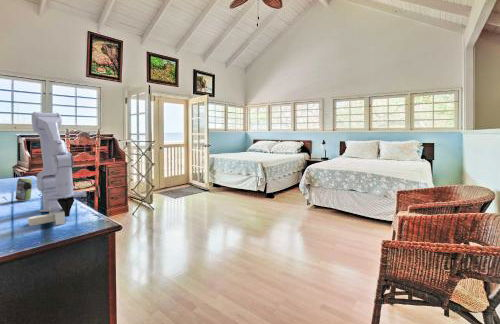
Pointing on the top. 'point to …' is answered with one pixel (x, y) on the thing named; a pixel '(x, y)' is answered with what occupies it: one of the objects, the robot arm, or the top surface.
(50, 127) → the robot arm
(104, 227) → the top surface
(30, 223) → the rod
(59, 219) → the housing
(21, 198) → the beverage can
